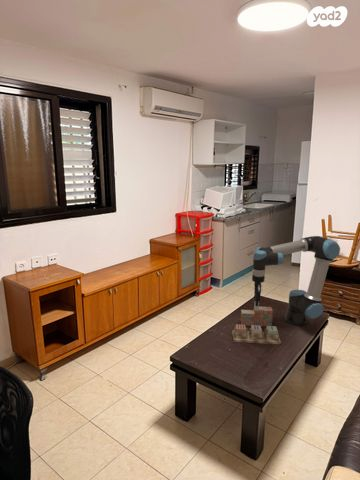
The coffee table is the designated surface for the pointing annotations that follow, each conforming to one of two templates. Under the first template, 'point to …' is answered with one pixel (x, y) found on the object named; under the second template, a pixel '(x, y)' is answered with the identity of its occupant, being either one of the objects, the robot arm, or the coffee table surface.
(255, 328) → the tile
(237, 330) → the tile
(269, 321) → the stack of blocks
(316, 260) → the robot arm
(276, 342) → the button board
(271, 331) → the light grey block
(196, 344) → the coffee table surface
